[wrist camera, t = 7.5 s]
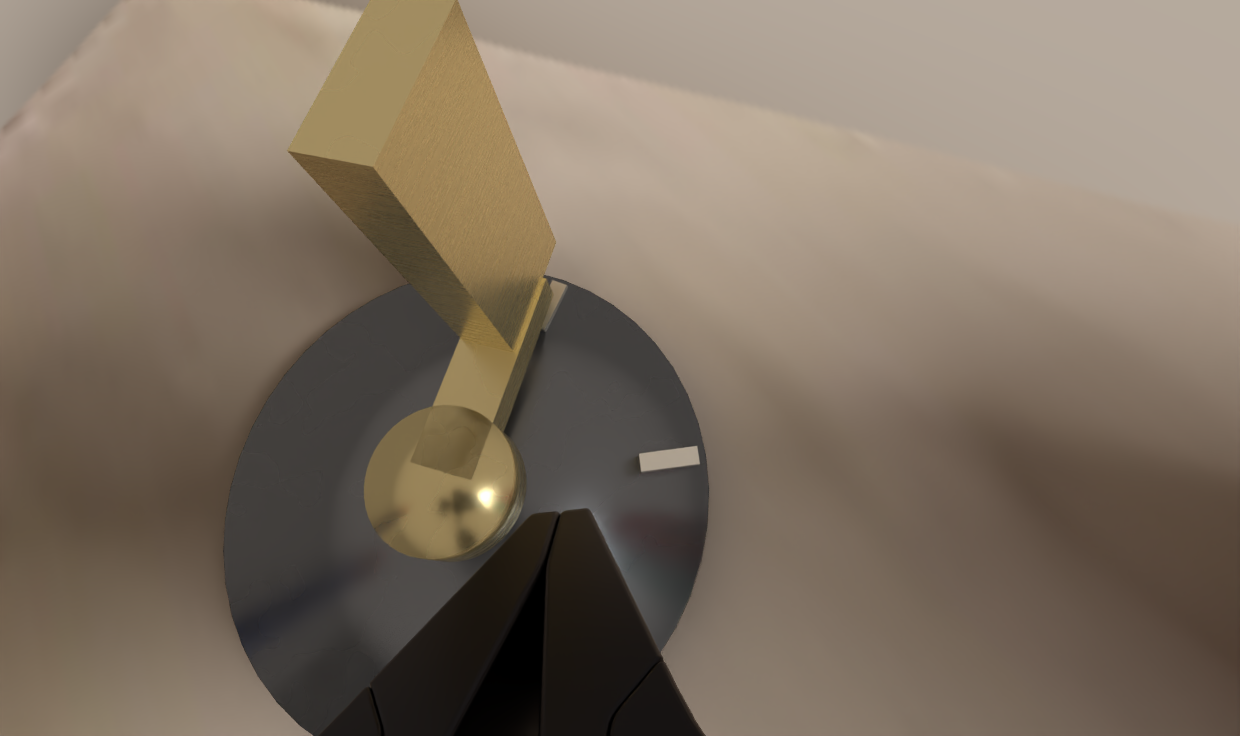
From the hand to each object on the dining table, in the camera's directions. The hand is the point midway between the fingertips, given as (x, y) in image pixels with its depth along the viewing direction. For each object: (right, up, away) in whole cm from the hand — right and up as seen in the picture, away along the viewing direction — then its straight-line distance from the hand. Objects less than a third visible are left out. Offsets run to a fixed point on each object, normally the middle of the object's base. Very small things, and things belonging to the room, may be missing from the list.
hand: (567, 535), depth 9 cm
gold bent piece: (-3, +2, +9) cm, 10 cm away
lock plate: (-4, -1, +10) cm, 10 cm away
